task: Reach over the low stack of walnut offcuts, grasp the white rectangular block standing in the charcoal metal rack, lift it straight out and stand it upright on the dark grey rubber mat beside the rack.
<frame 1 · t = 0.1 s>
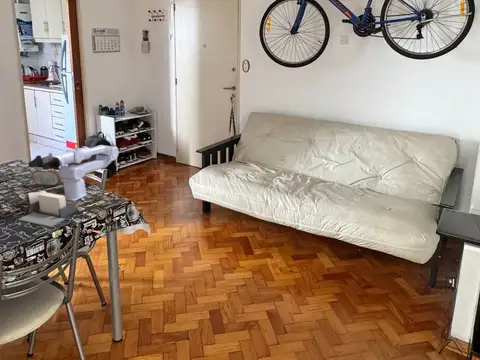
hand: (36, 165, 193), 22 cm above the table, tool horizontal, fingers open, 7 cm apart
rack: (53, 211, 201), on the table
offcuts: (65, 206, 207), on the table
phone case: (38, 200, 215), on the table
tin: (47, 185, 234), on the table
mat: (41, 220, 192), on the table
white rectangular block: (53, 211, 201), resting in rack
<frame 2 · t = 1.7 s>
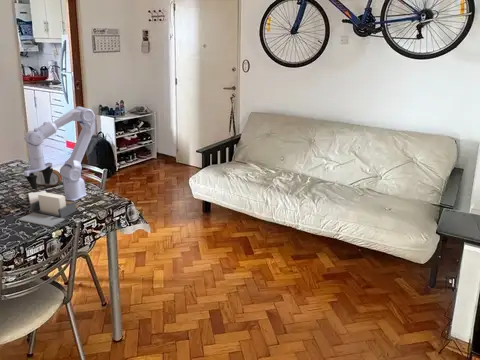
hand: (41, 186, 204), 9 cm above the table, tool pointing down, fingers open, 7 cm apart
nothing on the table moved.
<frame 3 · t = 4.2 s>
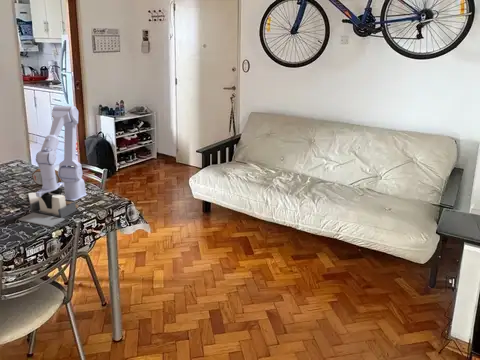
hand: (53, 206, 200), 2 cm above the table, tool pointing down, fingers closed on white rectangular block, 3 cm apart
white rectangular block: (53, 211, 201), resting in rack, touching gripper
everything else where it was.
when the fingers open (4 cm above the table, at t = 8.5 s): white rectangular block stays where it is, resting on mat.
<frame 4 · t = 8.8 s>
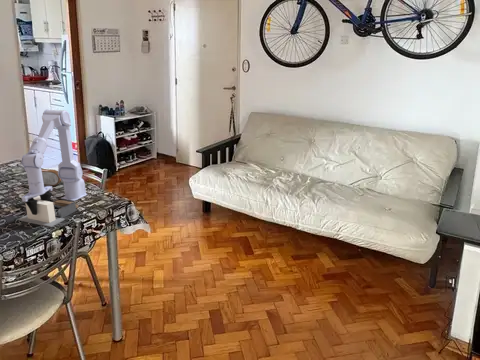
hand: (40, 211, 191), 4 cm above the table, tool pointing down, fingers open, 6 cm apart
white rectangular block: (41, 219, 192), resting on mat
everything else where it was.
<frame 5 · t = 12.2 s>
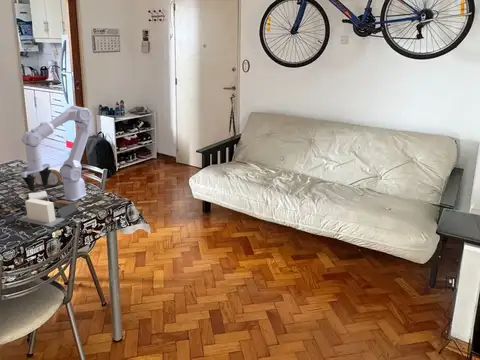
hand: (38, 187, 203), 9 cm above the table, tool pointing down, fingers open, 7 cm apart
nothing on the table moved.
at the end: white rectangular block 0.1 cm off-centre on the mat, point 0.5 cm above the mat's base; white rectangular block tilted 0°; the gripper is holding nothing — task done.
